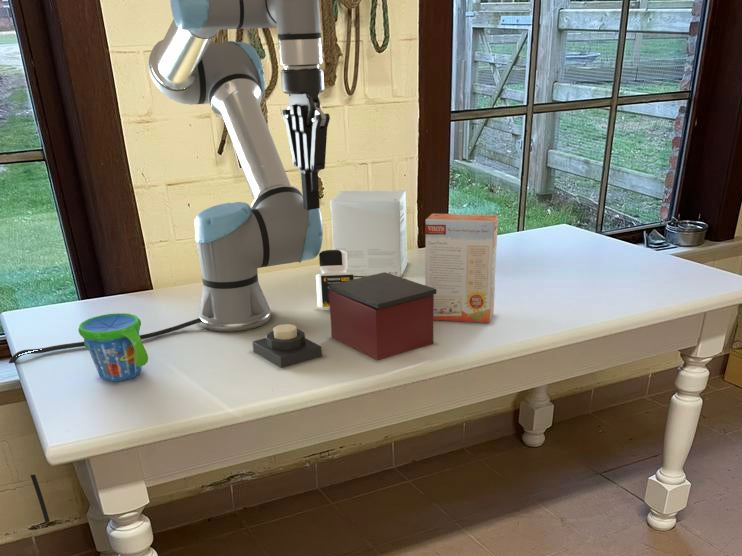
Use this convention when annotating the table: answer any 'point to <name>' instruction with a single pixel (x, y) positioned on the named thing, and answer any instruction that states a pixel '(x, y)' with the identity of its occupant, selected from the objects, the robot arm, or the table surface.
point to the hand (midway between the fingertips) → (311, 208)
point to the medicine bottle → (331, 274)
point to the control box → (287, 349)
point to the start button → (285, 331)
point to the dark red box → (382, 325)
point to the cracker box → (461, 265)
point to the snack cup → (114, 345)
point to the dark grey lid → (382, 290)
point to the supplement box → (371, 231)
